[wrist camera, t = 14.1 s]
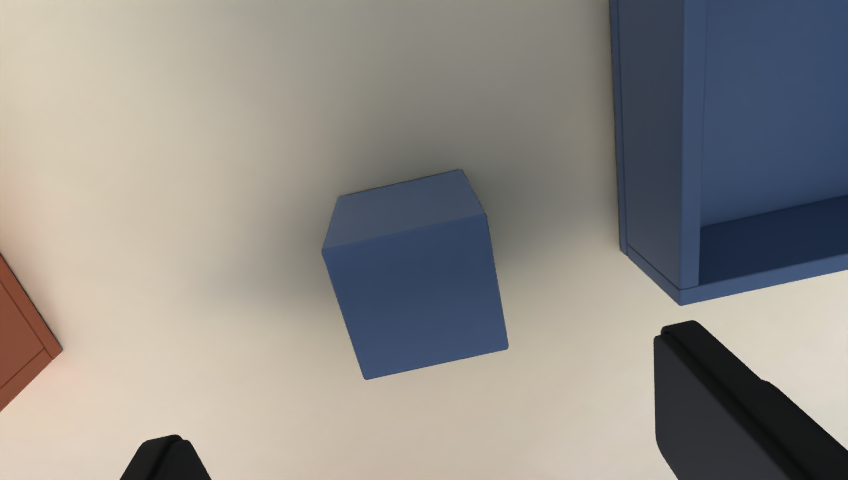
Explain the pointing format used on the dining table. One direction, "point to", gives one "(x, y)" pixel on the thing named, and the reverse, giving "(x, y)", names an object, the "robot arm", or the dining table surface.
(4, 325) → the terracotta bin
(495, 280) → the block
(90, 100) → the dining table surface
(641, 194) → the slate bin
